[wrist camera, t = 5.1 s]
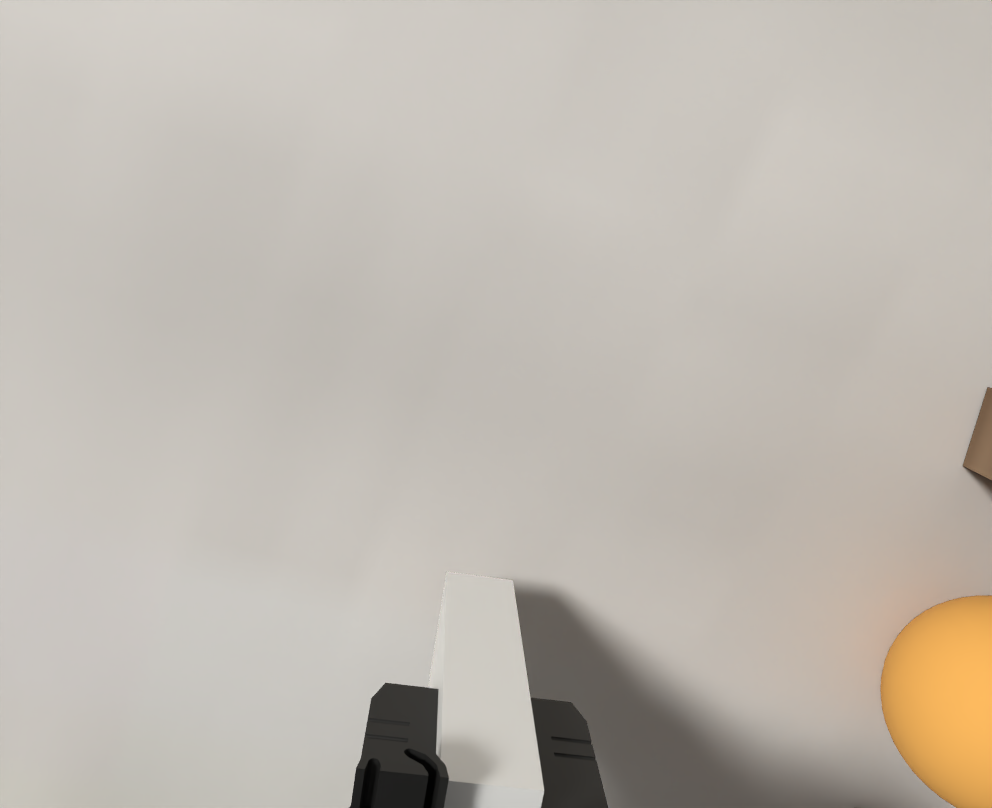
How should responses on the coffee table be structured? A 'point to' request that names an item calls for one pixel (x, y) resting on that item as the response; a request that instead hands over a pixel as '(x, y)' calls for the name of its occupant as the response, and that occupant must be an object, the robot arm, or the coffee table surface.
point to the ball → (944, 699)
